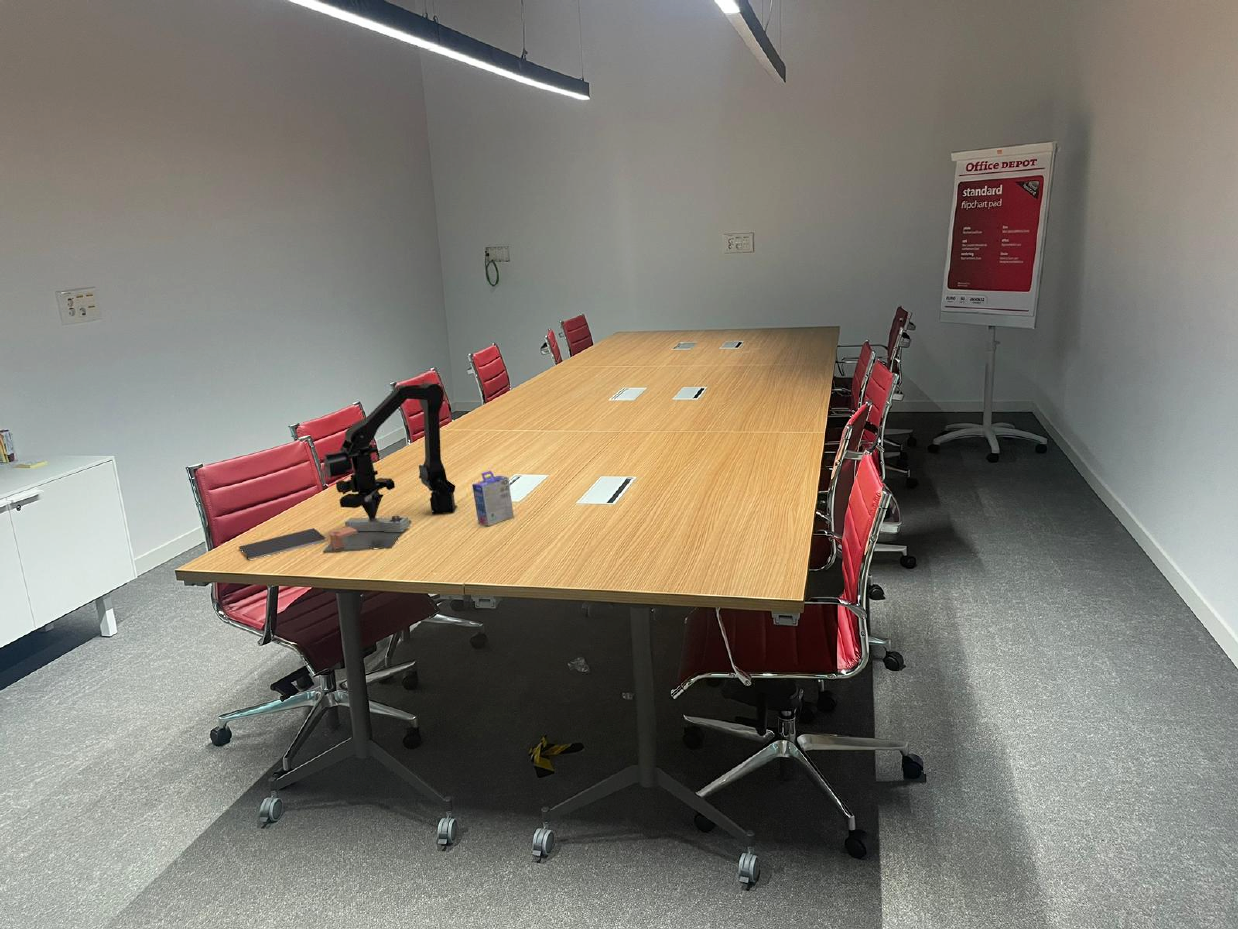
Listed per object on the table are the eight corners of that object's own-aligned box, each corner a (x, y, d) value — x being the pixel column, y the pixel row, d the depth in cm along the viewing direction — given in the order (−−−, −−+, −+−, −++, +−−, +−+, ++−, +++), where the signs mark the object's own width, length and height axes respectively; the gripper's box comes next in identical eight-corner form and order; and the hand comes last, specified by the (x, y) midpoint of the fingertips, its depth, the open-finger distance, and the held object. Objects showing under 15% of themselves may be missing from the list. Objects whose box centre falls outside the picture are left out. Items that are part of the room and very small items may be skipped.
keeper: (351, 542, 255) (348, 526, 254) (359, 546, 251) (357, 530, 250) (329, 548, 251) (326, 532, 250) (338, 553, 247) (335, 536, 246)
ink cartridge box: (503, 514, 269) (497, 467, 265) (515, 517, 265) (509, 469, 261) (476, 523, 262) (470, 475, 258) (488, 526, 258) (481, 478, 254)
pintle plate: (411, 522, 269) (409, 507, 267) (391, 548, 247) (388, 532, 246) (349, 526, 270) (346, 512, 268) (323, 553, 248) (320, 537, 247)
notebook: (314, 533, 269) (240, 551, 258) (313, 528, 268) (238, 546, 257) (327, 543, 258) (249, 563, 247) (326, 537, 258) (248, 557, 247)
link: (409, 526, 262) (408, 516, 262) (401, 532, 258) (399, 522, 257) (354, 526, 267) (352, 517, 266) (344, 532, 262) (343, 522, 262)
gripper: (361, 459, 272) (369, 508, 276) (319, 478, 255) (329, 530, 260) (391, 460, 267) (400, 509, 272) (351, 480, 251) (361, 532, 255)
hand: (372, 520), depth 265 cm, fingers closed
